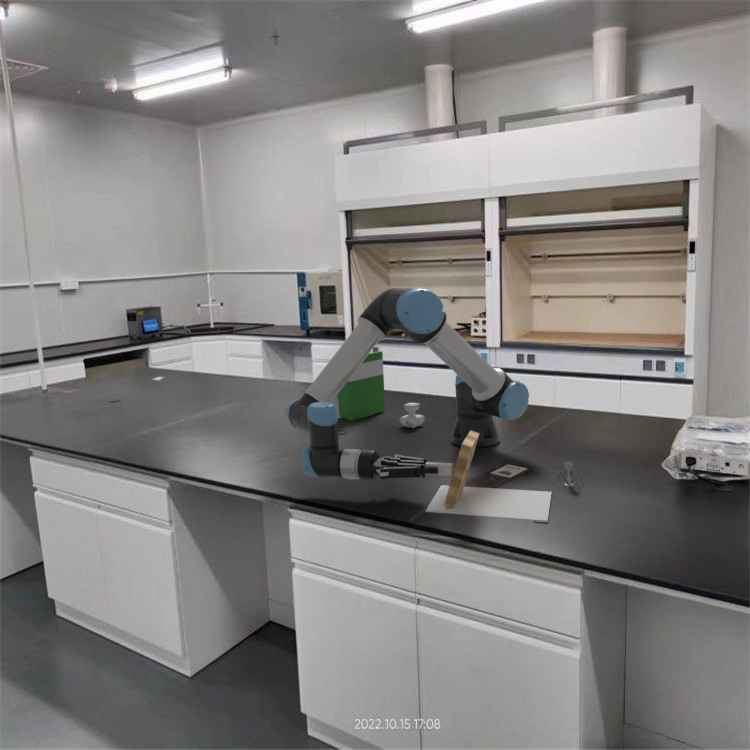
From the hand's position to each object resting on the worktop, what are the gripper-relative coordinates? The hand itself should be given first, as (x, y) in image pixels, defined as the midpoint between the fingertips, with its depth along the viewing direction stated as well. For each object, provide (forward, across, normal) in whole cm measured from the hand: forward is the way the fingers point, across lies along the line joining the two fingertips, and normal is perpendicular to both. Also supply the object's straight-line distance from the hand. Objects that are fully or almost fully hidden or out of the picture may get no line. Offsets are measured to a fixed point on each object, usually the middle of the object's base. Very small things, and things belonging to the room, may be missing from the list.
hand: (452, 469), depth 157 cm
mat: (+9, -1, -8) cm, 12 cm away
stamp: (-28, -68, -9) cm, 74 cm away
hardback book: (-53, -82, -9) cm, 98 cm away
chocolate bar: (+9, -20, -9) cm, 24 cm away
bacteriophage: (+27, -17, -9) cm, 33 cm away
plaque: (0, -1, -8) cm, 8 cm away
